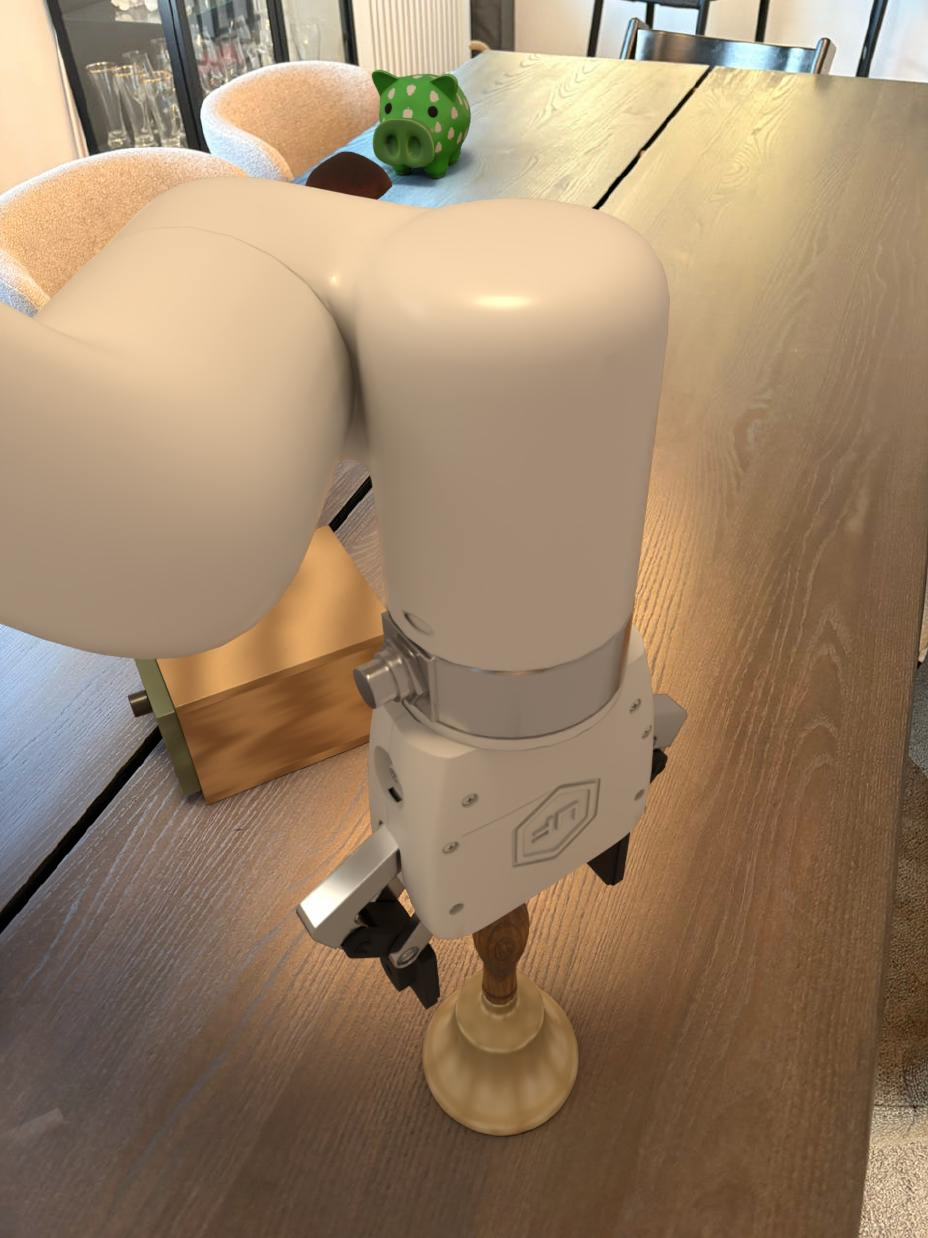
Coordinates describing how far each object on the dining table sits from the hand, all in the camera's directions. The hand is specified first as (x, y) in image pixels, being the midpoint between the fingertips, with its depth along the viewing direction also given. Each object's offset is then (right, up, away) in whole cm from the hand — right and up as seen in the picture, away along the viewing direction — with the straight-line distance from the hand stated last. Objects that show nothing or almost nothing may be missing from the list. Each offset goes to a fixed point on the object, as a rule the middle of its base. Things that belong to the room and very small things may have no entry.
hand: (508, 917), depth 41 cm
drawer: (-17, +7, +27) cm, 33 cm away
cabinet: (-15, +7, +28) cm, 33 cm away
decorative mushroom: (-16, +59, +85) cm, 105 cm away
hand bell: (0, -10, +10) cm, 14 cm away
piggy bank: (-8, +87, +115) cm, 145 cm away
